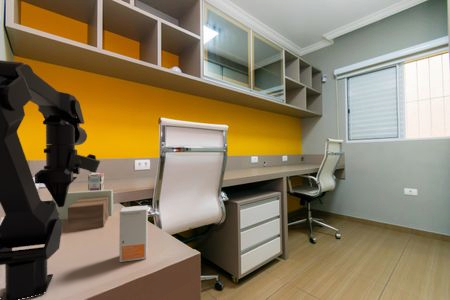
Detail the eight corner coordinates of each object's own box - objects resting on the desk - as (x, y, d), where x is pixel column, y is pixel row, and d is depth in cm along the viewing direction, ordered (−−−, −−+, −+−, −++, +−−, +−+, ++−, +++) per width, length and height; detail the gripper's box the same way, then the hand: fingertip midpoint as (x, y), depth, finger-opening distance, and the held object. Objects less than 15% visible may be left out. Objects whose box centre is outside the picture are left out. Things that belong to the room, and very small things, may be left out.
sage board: (111, 215, 85) (111, 190, 85) (52, 220, 79) (52, 194, 79) (113, 213, 88) (112, 189, 88) (56, 218, 82) (55, 192, 82)
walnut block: (103, 228, 72) (103, 204, 72) (67, 232, 68) (67, 207, 68) (108, 216, 85) (108, 196, 85) (79, 219, 81) (79, 198, 81)
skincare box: (119, 263, 49) (118, 211, 49) (122, 254, 53) (122, 206, 53) (147, 259, 50) (146, 209, 50) (148, 251, 55) (147, 204, 55)
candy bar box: (101, 213, 88) (101, 174, 88) (87, 215, 86) (87, 175, 86) (104, 207, 98) (104, 171, 98) (91, 208, 96) (91, 172, 96)
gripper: (96, 144, 49) (97, 211, 49) (99, 145, 65) (99, 196, 65) (33, 143, 43) (34, 219, 44) (53, 145, 60) (53, 200, 60)
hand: (61, 206), depth 53 cm, fingers closed
